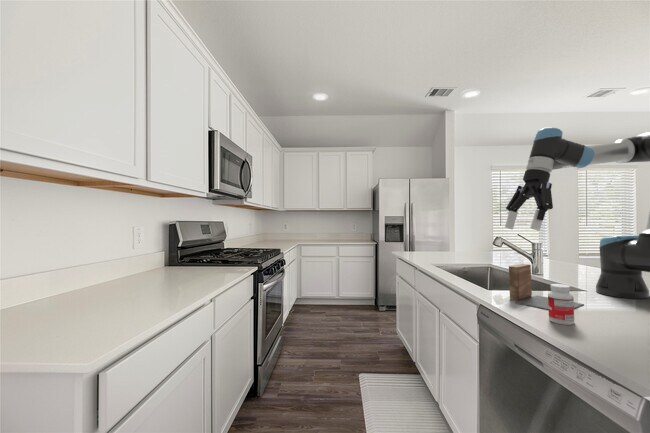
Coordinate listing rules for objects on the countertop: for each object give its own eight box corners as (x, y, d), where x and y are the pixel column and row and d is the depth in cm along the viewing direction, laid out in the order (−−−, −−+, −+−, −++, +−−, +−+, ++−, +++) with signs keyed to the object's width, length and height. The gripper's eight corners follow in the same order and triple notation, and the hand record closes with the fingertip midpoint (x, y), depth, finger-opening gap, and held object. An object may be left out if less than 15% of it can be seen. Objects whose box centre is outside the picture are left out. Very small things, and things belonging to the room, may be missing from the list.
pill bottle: (550, 317, 95) (549, 282, 95) (575, 321, 91) (574, 285, 91) (547, 322, 91) (545, 285, 91) (573, 326, 87) (571, 288, 87)
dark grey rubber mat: (584, 305, 106) (584, 304, 106) (563, 313, 98) (563, 312, 98) (537, 296, 119) (537, 295, 119) (515, 303, 111) (515, 301, 111)
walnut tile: (532, 297, 118) (531, 264, 118) (519, 301, 113) (517, 267, 113) (523, 295, 121) (522, 263, 121) (510, 299, 116) (508, 266, 116)
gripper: (505, 173, 118) (490, 225, 118) (555, 161, 93) (536, 226, 93) (523, 179, 118) (508, 230, 118) (578, 168, 93) (559, 233, 93)
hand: (520, 229), depth 106 cm, fingers open, 13 cm apart
